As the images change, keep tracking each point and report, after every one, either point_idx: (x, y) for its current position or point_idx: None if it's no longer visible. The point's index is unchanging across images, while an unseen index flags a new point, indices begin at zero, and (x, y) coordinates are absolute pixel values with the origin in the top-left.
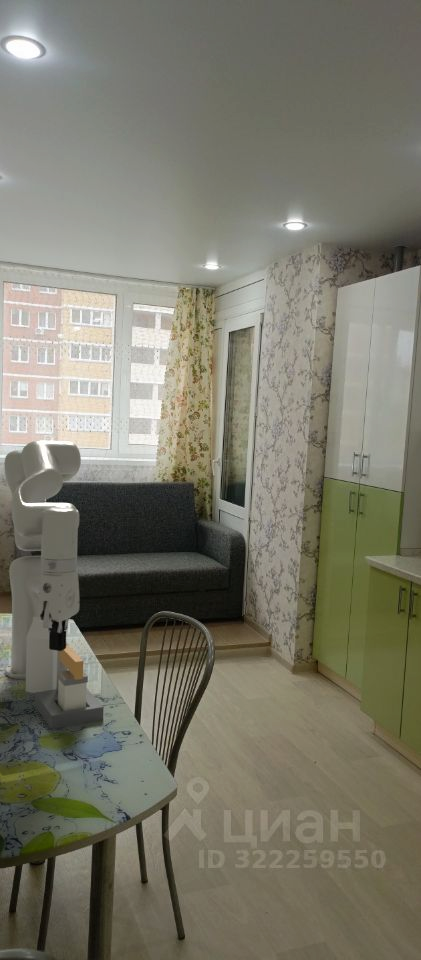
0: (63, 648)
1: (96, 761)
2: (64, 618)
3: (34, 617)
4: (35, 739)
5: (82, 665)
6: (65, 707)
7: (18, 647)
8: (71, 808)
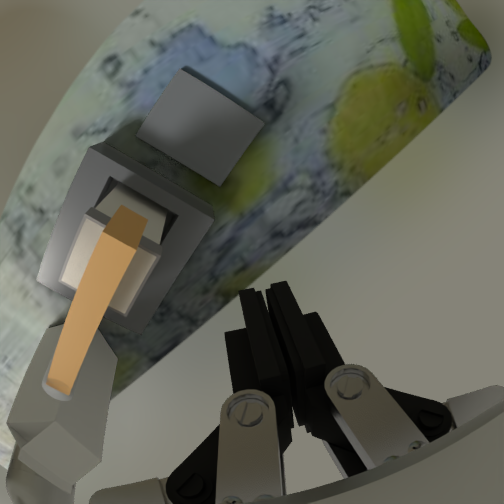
0: (273, 286)
1: (269, 40)
2: (486, 435)
3: (68, 492)
4: (254, 214)
5: (111, 224)
6: (163, 219)
7: None
8: (413, 18)
